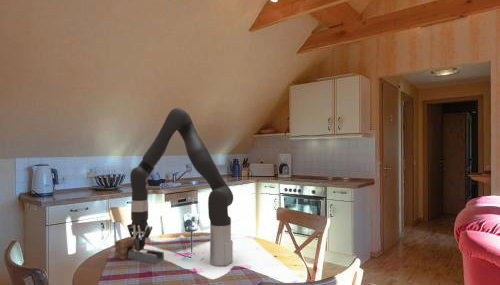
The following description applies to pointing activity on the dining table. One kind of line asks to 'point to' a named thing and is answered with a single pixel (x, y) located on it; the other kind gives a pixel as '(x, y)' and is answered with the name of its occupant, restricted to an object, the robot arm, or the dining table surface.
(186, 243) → the dining table surface
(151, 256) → the metal channel
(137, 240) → the grey slider with post
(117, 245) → the walnut socket block
